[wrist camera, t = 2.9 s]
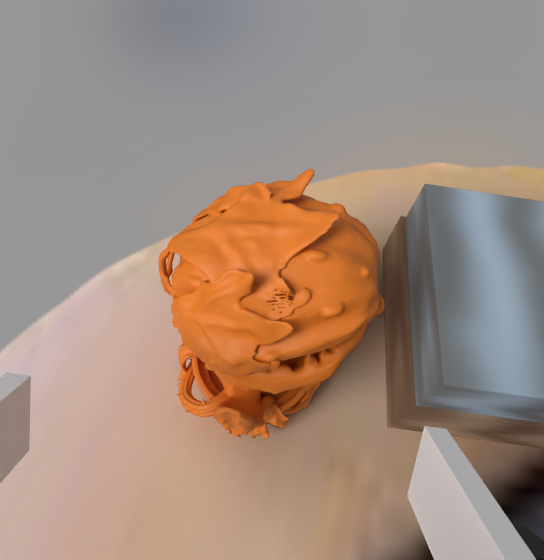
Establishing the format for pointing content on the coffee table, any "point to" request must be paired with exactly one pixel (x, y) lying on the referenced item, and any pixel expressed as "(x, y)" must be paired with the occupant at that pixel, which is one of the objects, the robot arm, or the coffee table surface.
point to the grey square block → (466, 316)
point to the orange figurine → (268, 301)
